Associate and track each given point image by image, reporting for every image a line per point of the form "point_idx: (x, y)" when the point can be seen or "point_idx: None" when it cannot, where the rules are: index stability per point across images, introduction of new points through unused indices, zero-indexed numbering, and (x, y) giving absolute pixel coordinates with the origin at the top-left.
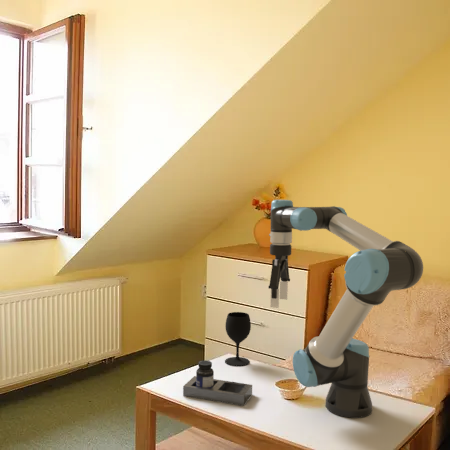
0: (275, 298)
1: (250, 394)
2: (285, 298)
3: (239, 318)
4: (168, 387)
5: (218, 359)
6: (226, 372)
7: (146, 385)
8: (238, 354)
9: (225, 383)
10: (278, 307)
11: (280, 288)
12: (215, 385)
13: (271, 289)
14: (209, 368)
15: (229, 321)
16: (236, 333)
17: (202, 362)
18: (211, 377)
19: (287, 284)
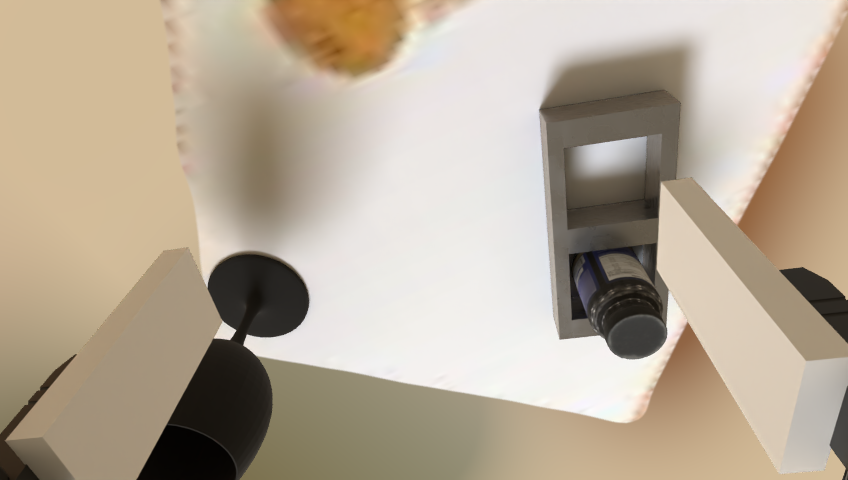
0: (803, 273)
1: (567, 108)
2: (190, 269)
3: (224, 438)
4: (604, 367)
5: (283, 356)
6: (380, 283)
7: (616, 418)
8: (248, 313)
9: (566, 225)
10: (668, 181)
11: (164, 417)
12: (615, 244)
13: (812, 447)
14: (642, 305)
15: (253, 457)
16: (264, 382)
17: (638, 346)
18: (633, 274)
19: (54, 398)
